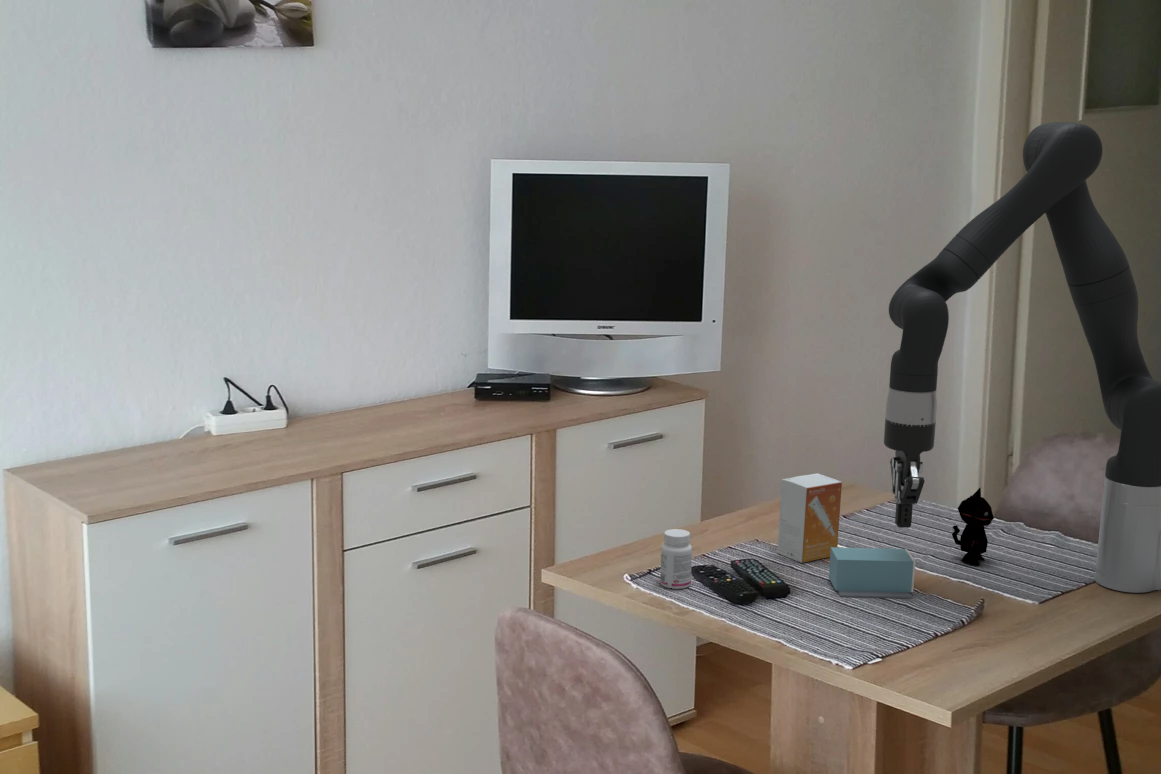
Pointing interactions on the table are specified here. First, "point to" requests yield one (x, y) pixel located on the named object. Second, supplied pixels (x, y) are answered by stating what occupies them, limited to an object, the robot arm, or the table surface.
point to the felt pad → (875, 594)
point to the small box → (809, 517)
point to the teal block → (872, 569)
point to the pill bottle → (676, 559)
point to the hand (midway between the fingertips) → (902, 526)
